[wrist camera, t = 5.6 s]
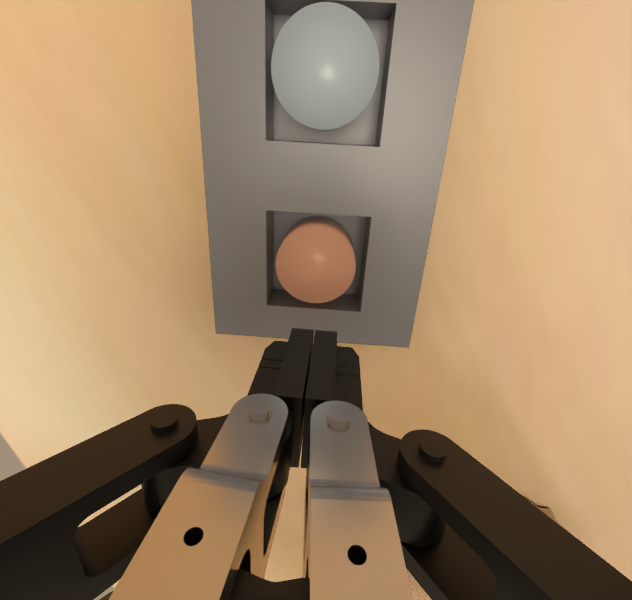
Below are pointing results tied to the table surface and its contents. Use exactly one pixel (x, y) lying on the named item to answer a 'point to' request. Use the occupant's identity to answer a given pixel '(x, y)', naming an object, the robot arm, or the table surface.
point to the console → (324, 165)
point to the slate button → (325, 65)
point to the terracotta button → (316, 260)
